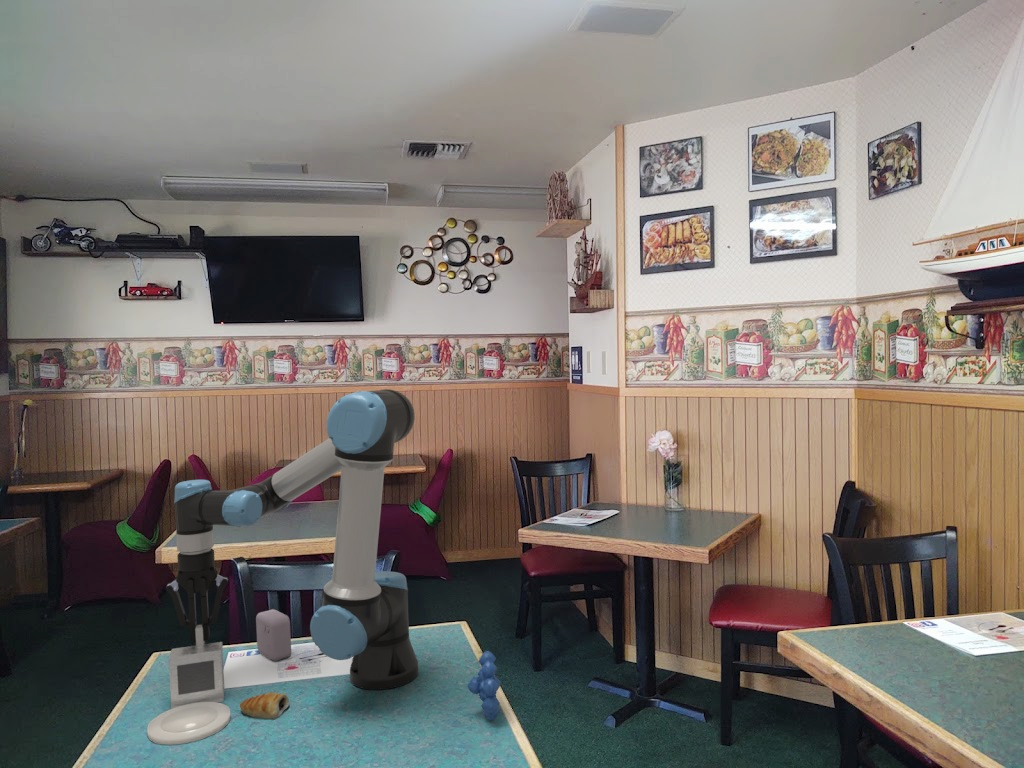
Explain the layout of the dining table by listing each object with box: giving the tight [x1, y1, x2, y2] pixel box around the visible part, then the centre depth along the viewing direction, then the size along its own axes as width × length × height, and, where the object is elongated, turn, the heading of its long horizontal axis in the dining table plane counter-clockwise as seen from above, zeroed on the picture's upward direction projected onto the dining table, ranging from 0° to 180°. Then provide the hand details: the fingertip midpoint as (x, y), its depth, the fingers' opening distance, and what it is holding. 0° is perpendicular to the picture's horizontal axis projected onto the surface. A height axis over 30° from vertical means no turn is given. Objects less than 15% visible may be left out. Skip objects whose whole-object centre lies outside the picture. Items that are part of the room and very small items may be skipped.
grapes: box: [466, 650, 502, 721], centre depth 146 cm, size 12×7×12 cm, turn 6°
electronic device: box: [255, 608, 292, 662], centre depth 181 cm, size 10×5×10 cm, turn 43°
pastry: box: [239, 692, 290, 720], centre depth 151 cm, size 9×7×4 cm
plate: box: [146, 702, 231, 746], centre depth 146 cm, size 15×15×1 cm
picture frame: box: [168, 641, 226, 709], centre depth 157 cm, size 10×6×11 cm, turn 108°
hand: (200, 655), depth 166 cm, fingers closed
